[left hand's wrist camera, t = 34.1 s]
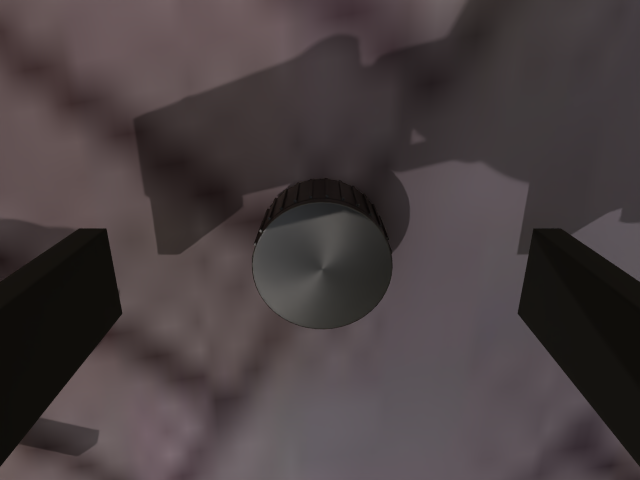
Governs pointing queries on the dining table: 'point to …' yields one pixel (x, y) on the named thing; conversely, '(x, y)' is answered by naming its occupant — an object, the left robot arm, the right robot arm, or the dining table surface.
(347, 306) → the cap
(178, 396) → the dining table surface
